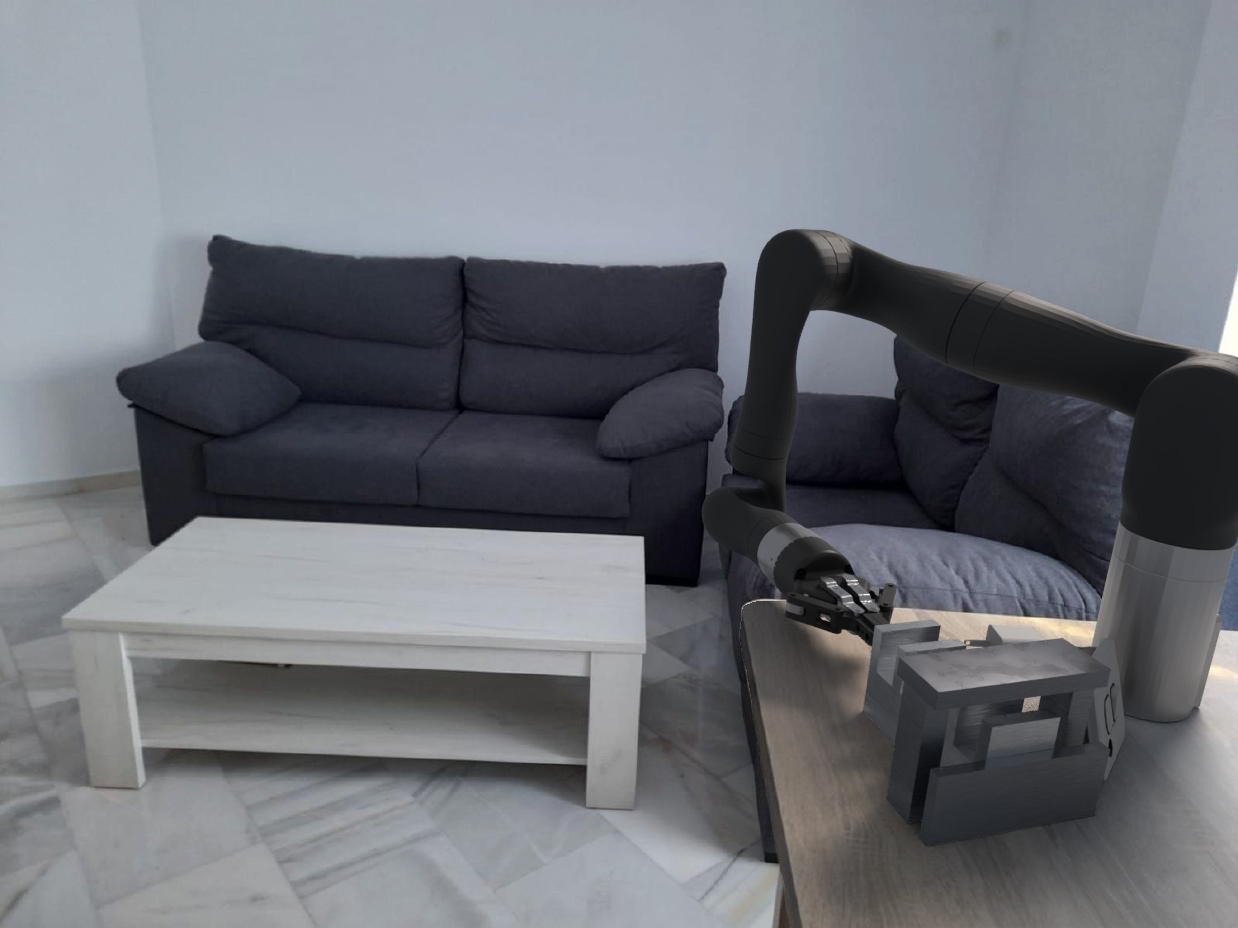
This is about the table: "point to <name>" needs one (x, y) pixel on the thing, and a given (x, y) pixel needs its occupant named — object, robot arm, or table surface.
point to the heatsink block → (968, 727)
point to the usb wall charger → (1006, 636)
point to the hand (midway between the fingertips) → (888, 642)
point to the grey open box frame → (1005, 785)
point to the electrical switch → (1106, 705)
